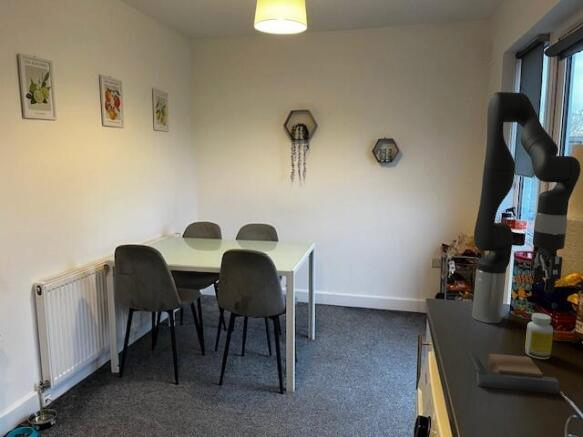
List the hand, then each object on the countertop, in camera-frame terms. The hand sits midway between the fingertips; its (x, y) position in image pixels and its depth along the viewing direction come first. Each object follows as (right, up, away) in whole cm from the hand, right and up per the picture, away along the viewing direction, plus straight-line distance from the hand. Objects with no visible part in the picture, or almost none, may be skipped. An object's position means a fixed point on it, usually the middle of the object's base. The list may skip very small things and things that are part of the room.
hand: (543, 287), depth 122 cm
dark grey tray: (-14, -21, -7) cm, 26 cm away
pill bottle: (0, -20, +3) cm, 20 cm away
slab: (-13, -22, -9) cm, 27 cm away
